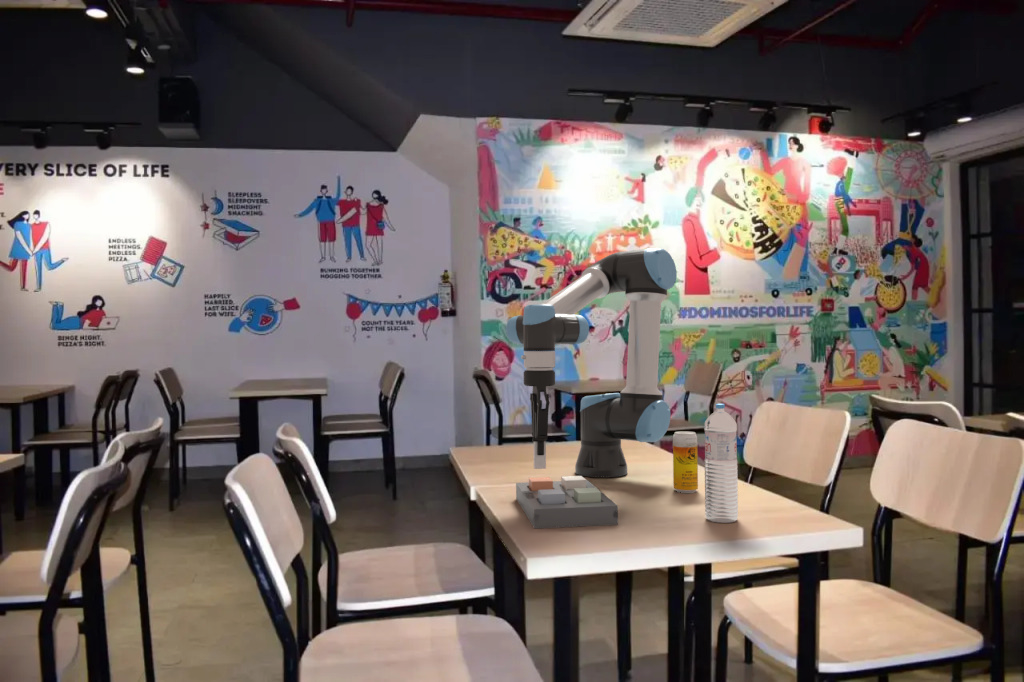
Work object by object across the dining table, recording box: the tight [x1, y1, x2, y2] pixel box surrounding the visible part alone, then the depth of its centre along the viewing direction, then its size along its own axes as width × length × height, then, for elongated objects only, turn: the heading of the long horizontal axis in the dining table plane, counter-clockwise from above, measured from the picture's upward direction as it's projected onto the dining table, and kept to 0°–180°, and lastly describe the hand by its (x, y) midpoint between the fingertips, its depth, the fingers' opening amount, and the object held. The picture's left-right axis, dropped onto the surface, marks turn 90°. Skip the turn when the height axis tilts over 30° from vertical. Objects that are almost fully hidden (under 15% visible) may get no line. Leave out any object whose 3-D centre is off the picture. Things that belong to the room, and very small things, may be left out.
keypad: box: [515, 479, 619, 529], centre depth 166 cm, size 18×28×4 cm, turn 7°
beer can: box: [672, 430, 699, 494], centre depth 185 cm, size 6×6×15 cm
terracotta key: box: [528, 476, 553, 491], centre depth 172 cm, size 5×5×3 cm
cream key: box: [560, 475, 587, 490], centre depth 173 cm, size 5×5×3 cm
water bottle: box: [703, 403, 739, 524], centre depth 156 cm, size 7×7×25 cm
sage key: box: [574, 487, 602, 503], centre depth 159 cm, size 5×5×3 cm
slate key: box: [538, 489, 565, 505], centre depth 158 cm, size 5×5×3 cm
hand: (539, 468), depth 172 cm, fingers closed
